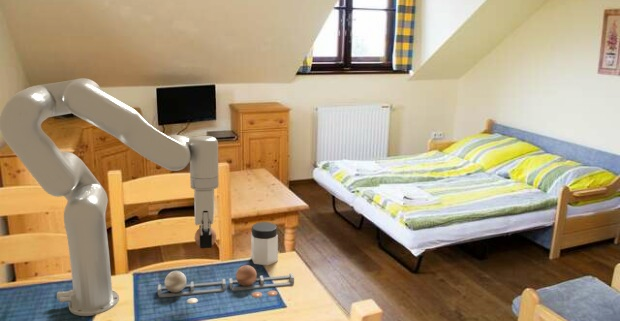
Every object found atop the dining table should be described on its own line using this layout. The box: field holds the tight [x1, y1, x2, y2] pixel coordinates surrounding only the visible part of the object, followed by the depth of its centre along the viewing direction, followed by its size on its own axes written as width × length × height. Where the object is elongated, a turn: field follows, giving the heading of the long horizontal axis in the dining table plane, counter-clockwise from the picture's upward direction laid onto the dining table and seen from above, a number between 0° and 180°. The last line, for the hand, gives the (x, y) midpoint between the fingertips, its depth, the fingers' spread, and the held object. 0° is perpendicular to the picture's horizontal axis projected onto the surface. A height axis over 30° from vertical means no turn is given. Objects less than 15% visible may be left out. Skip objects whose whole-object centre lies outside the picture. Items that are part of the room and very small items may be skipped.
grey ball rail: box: [157, 272, 295, 298], centre depth 148 cm, size 39×5×2 cm, turn 103°
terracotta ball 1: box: [194, 227, 217, 247], centre depth 143 cm, size 6×6×6 cm
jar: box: [250, 221, 279, 266], centre depth 165 cm, size 9×8×12 cm
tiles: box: [186, 290, 279, 305], centre depth 142 cm, size 29×4×1 cm, turn 103°
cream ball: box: [164, 270, 187, 293], centre depth 144 cm, size 6×6×6 cm
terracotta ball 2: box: [235, 264, 258, 286], centre depth 148 cm, size 6×6×6 cm
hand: (205, 242), depth 143 cm, fingers closed on terracotta ball 1, 5 cm apart
